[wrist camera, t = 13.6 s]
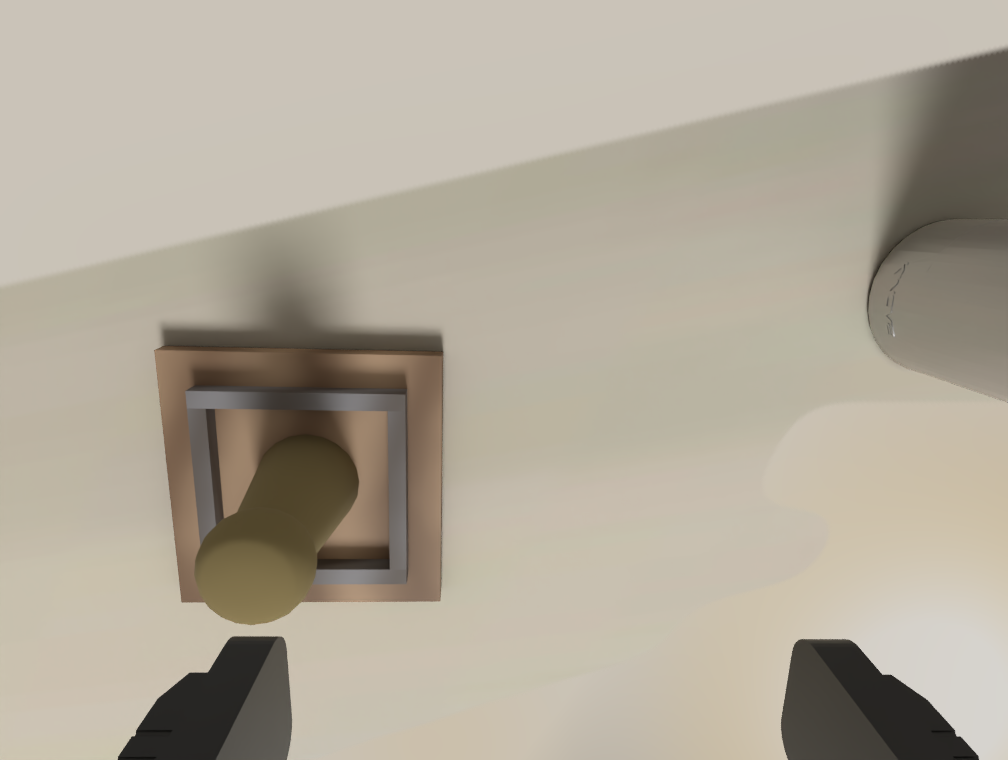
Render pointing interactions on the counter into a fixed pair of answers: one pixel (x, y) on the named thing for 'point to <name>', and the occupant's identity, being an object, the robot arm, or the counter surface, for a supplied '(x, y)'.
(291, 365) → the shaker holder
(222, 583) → the cork
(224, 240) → the counter surface
